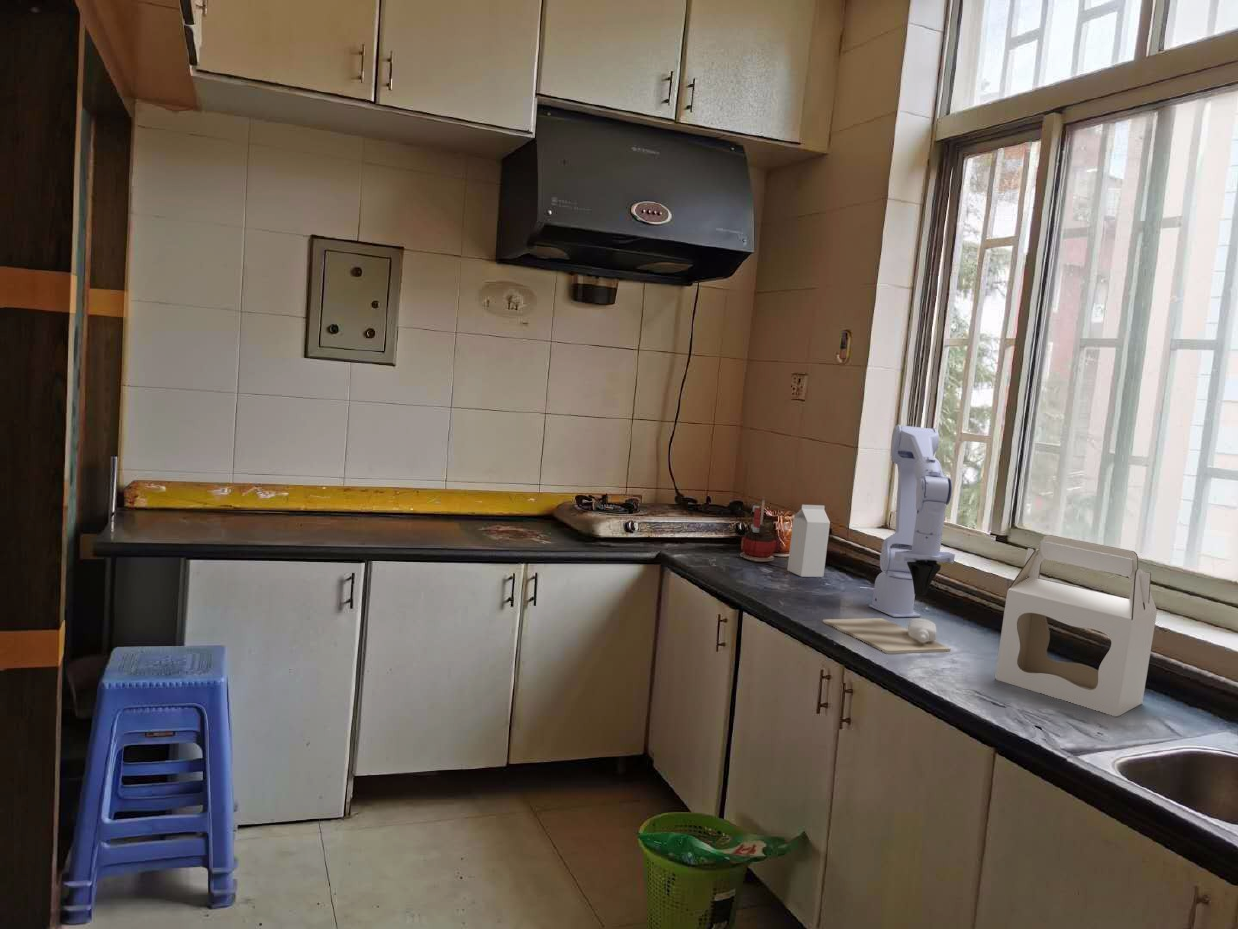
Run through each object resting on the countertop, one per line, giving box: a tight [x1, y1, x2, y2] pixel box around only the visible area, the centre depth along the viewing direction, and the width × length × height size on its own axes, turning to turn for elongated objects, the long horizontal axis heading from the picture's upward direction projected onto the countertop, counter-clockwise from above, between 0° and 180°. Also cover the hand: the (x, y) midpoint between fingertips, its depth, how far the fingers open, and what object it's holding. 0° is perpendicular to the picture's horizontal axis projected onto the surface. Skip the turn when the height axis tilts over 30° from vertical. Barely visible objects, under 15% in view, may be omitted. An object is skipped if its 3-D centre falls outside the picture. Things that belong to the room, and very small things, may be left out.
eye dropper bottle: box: [907, 617, 938, 643], centre depth 201 cm, size 4×6×12 cm
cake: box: [739, 497, 777, 563], centre depth 273 cm, size 11×9×18 cm
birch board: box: [822, 617, 952, 655], centre depth 203 cm, size 22×16×1 cm
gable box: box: [994, 534, 1158, 718], centre depth 176 cm, size 22×13×28 cm, turn 44°
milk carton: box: [786, 504, 831, 578], centre depth 259 cm, size 7×7×19 cm
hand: (919, 595), depth 206 cm, fingers closed
